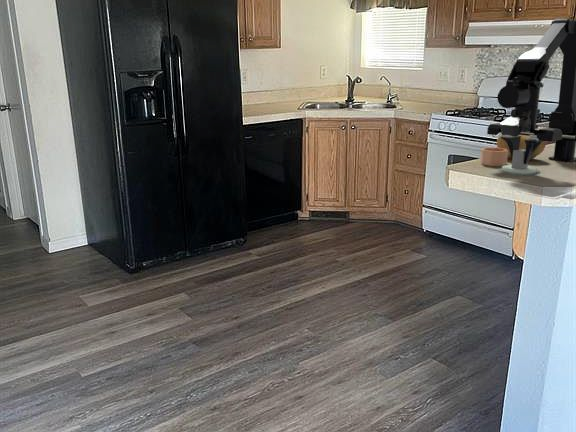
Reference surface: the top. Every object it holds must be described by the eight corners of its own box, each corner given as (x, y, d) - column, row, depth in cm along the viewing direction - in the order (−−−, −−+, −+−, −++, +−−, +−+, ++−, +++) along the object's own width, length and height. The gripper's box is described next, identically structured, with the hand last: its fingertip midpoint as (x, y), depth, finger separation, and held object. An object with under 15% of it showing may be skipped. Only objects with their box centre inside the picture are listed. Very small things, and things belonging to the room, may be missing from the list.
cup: (489, 161, 168) (490, 146, 167) (510, 164, 163) (512, 149, 161) (475, 164, 164) (477, 149, 163) (497, 168, 159) (498, 152, 157)
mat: (511, 166, 160) (511, 165, 160) (548, 172, 152) (548, 171, 152) (489, 171, 154) (489, 170, 154) (527, 178, 146) (527, 177, 146)
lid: (512, 166, 159) (515, 146, 157) (543, 171, 152) (545, 150, 150) (495, 170, 154) (497, 149, 152) (525, 175, 147) (528, 154, 145)
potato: (537, 165, 162) (540, 137, 160) (490, 159, 171) (492, 133, 169) (548, 160, 169) (551, 134, 167) (502, 155, 178) (504, 130, 176)
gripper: (478, 105, 150) (473, 162, 155) (544, 110, 136) (537, 172, 141) (501, 102, 157) (495, 157, 161) (567, 107, 143) (559, 167, 147)
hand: (519, 163), depth 152 cm, fingers closed on lid, 3 cm apart
